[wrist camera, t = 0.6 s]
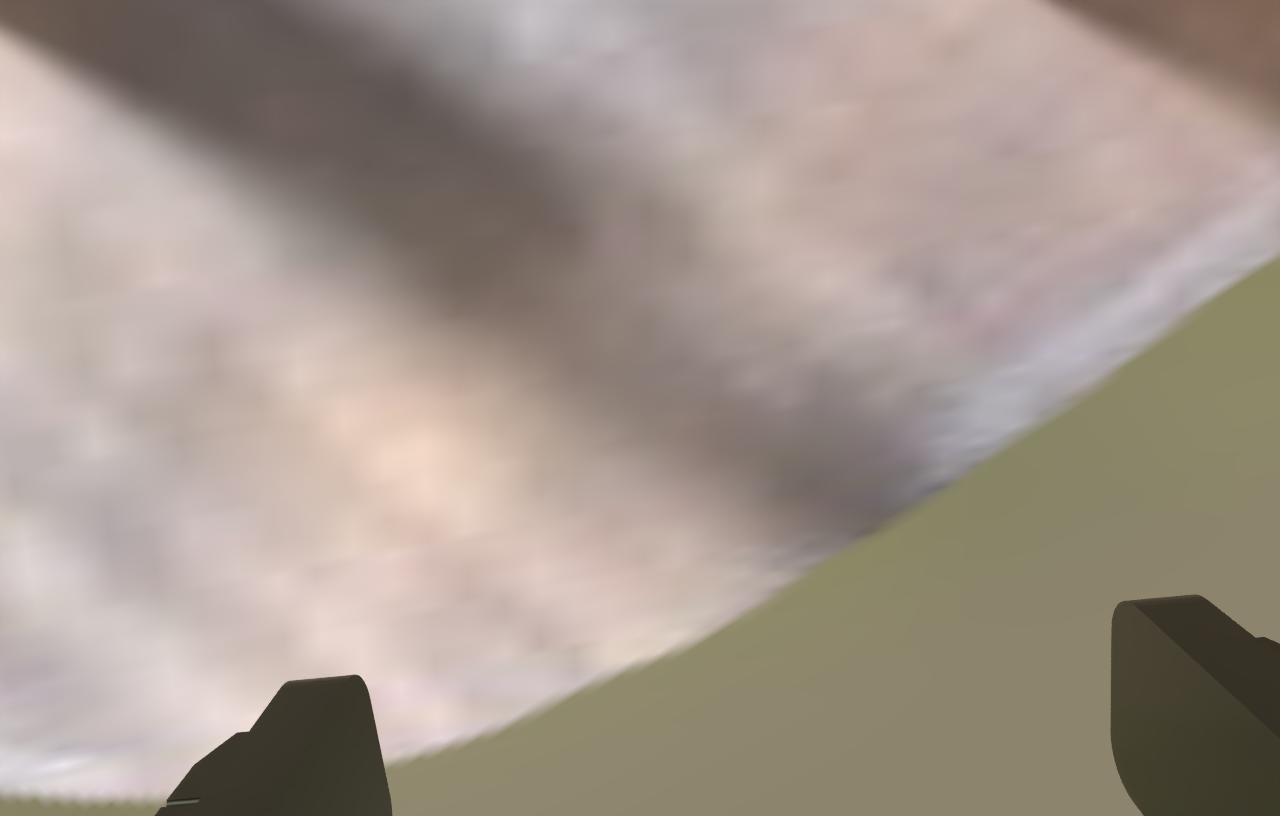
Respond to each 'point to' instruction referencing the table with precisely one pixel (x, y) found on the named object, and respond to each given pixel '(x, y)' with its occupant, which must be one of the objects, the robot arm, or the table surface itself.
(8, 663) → the table surface
